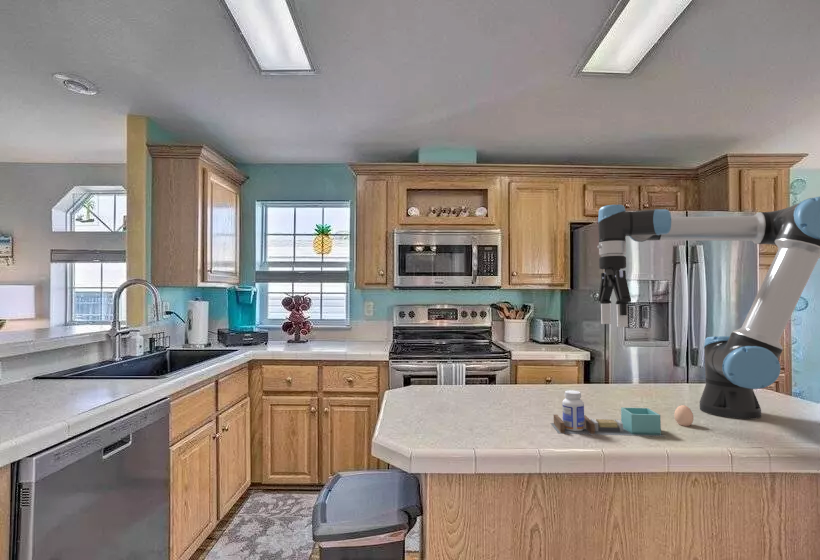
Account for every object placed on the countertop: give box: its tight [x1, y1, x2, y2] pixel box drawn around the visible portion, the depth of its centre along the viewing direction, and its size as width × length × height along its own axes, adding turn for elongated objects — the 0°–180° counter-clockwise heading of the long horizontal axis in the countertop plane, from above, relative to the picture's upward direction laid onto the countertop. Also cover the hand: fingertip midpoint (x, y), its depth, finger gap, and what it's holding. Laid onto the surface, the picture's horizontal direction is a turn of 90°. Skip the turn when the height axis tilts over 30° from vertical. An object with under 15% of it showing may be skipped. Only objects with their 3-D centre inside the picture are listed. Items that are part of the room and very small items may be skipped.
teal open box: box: [620, 406, 662, 435], centre depth 113 cm, size 7×7×5 cm
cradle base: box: [590, 418, 623, 432], centre depth 114 cm, size 7×4×2 cm, turn 84°
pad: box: [595, 418, 617, 428], centre depth 114 cm, size 4×3×1 cm
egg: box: [673, 404, 694, 427], centre depth 118 cm, size 4×4×6 cm
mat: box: [550, 422, 666, 438], centre depth 114 cm, size 26×9×1 cm, turn 84°
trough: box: [553, 414, 595, 435], centre depth 115 cm, size 8×8×2 cm
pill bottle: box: [561, 389, 585, 431], centre depth 115 cm, size 5×5×10 cm
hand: (613, 325), depth 131 cm, fingers open, 13 cm apart
